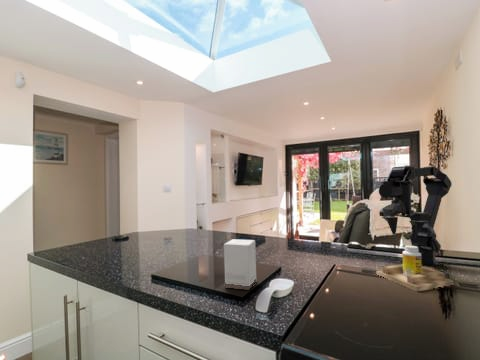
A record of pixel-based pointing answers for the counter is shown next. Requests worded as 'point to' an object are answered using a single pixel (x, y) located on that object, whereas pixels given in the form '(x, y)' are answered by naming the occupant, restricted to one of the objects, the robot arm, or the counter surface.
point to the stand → (415, 278)
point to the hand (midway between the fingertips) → (403, 236)
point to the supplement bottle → (411, 261)
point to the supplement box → (240, 262)
